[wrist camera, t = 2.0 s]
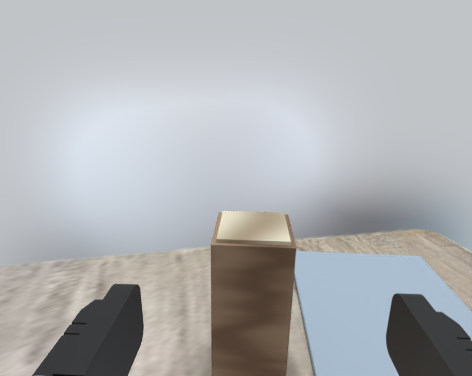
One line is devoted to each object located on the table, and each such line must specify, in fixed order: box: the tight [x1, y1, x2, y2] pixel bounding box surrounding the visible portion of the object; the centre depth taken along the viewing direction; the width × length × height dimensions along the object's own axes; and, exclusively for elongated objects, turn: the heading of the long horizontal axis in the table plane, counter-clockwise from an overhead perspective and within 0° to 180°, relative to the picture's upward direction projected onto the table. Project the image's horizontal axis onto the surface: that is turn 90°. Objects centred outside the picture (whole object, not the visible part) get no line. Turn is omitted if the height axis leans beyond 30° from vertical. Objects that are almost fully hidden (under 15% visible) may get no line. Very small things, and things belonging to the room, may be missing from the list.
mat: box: [294, 251, 472, 376], centre depth 31 cm, size 16×24×1 cm, turn 177°
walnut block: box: [211, 211, 296, 376], centre depth 24 cm, size 5×5×12 cm
